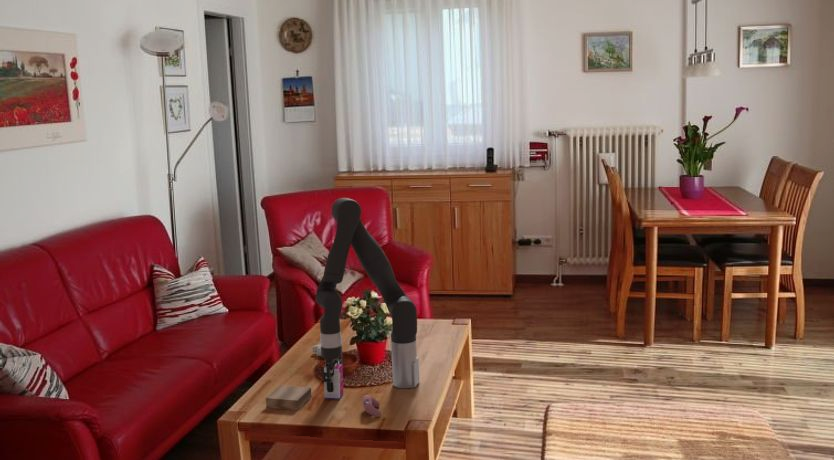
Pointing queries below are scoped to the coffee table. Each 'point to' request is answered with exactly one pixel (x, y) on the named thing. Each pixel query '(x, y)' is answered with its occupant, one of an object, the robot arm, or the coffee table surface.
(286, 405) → the grey wooden square block
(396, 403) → the coffee table surface
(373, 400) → the pink rounded lump
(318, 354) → the bunny figurine
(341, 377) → the supplement box
